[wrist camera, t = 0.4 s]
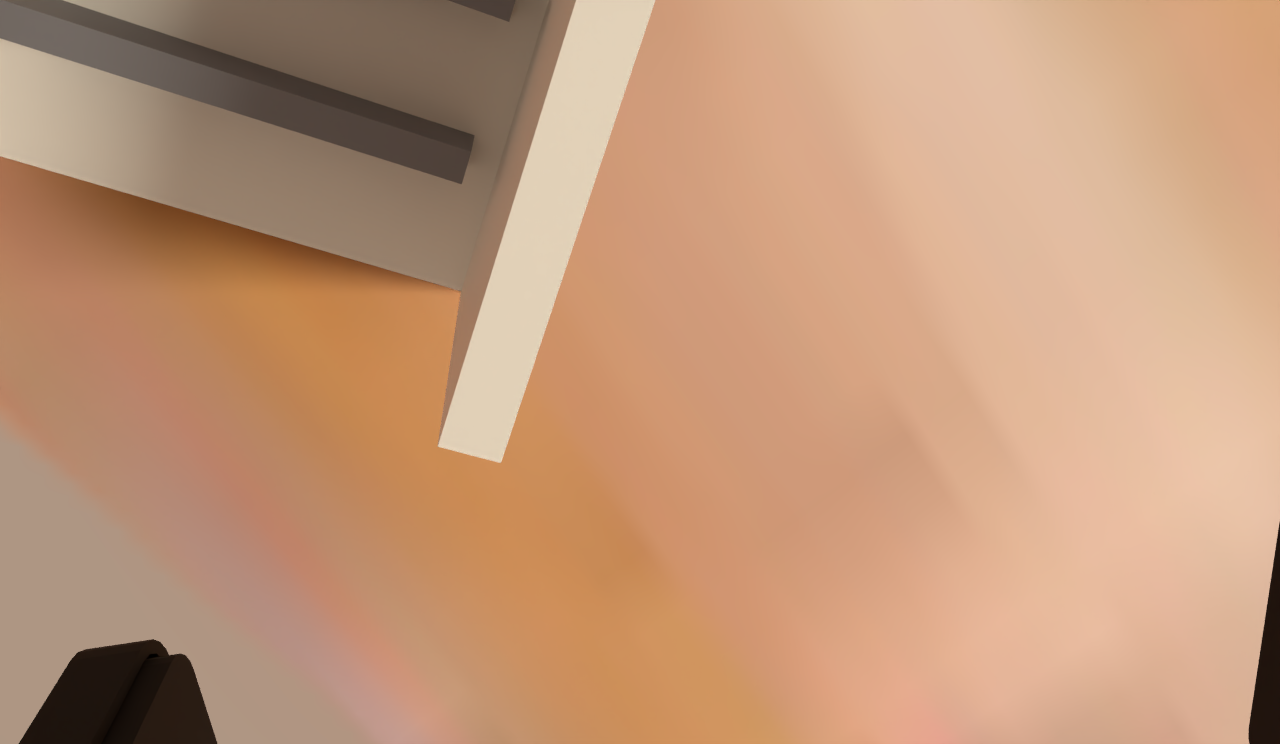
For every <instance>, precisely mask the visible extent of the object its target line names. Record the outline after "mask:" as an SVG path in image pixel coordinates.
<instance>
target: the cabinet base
mask: <svg viewBox="0 0 1280 744" xmlns="http://www.w3.org/2000/svg"><path fill="white" fill-rule="evenodd" d="M654 3H655V0H0V156H1V157H5V158H8V159H12V160H15V161H19V162H22V163H25V164H29V165H32V166H36V167H39V168H42V169H46V170H49V171H53V172H56V173H59V174H63V175H66V176H70V177H73V178H77V179H80V180H83V181H87V182H90V183H94V184H97V185H100V186H104V187H107V188H111V189H114V190H117V191H121V192H124V193H128V194H131V195H134V196H138V197H141V198H145V199H148V200H152V201H155V202H158V203H162V204H165V205H169V206H172V207H175V208H179V209H182V210H186V211H189V212H192V213H196V214H199V215H203V216H206V217H210V218H213V219H216V220H220V221H223V222H227V223H230V224H233V225H237V226H240V227H244V228H247V229H250V230H254V231H257V232H261V233H264V234H267V235H271V236H274V237H278V238H281V239H285V240H288V241H291V242H295V243H298V244H302V245H305V246H308V247H312V248H315V249H319V250H322V251H325V252H329V253H332V254H336V255H339V256H343V257H346V258H349V259H353V260H356V261H360V262H363V263H366V264H370V265H373V266H377V267H380V268H383V269H387V270H390V271H394V272H397V273H400V274H404V275H407V276H411V277H414V278H418V279H421V280H424V281H428V282H431V283H435V284H438V285H441V286H445V287H448V288H452V289H455V290H458V291H461V295H460V301H459V308H458V315H457V321H456V328H455V335H454V341H453V348H452V355H451V361H450V368H449V374H448V381H447V388H446V394H445V401H444V408H443V414H442V421H441V428H440V434H439V441H438V447H441V448H445V449H449V450H453V451H456V452H460V453H464V454H468V455H472V456H476V457H480V458H483V459H487V460H491V461H495V462H499V463H501V461H502V458H503V455H504V452H505V449H506V446H507V443H508V440H509V437H510V434H511V431H512V428H513V425H514V422H515V419H516V416H517V413H518V410H519V407H520V404H521V401H522V398H523V395H524V392H525V389H526V386H527V383H528V380H529V377H530V374H531V371H532V368H533V365H534V362H535V359H536V356H537V353H538V350H539V347H540V344H541V341H542V338H543V335H544V332H545V329H546V326H547V323H548V320H549V317H550V314H551V311H552V308H553V305H554V302H555V299H556V296H557V293H558V290H559V287H560V284H561V281H562V278H563V275H564V272H565V269H566V266H567V263H568V260H569V257H570V254H571V251H572V248H573V245H574V242H575V239H576V236H577V233H578V230H579V227H580V224H581V221H582V218H583V215H584V212H585V209H586V206H587V203H588V200H589V197H590V194H591V191H592V188H593V185H594V182H595V179H596V176H597V173H598V170H599V167H600V164H601V161H602V158H603V155H604V152H605V149H606V146H607V143H608V140H609V137H610V134H611V131H612V128H613V125H614V122H615V119H616V116H617V113H618V110H619V107H620V104H621V101H622V98H623V95H624V92H625V89H626V86H627V83H628V80H629V77H630V74H631V71H632V68H633V65H634V62H635V59H636V56H637V54H638V51H639V48H640V45H641V42H642V39H643V36H644V33H645V30H646V27H647V24H648V21H649V18H650V15H651V12H652V9H653V6H654Z"/></svg>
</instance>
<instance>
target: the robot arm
mask: <svg viewBox="0 0 1280 744" xmlns="http://www.w3.org/2000/svg"><path fill="white" fill-rule="evenodd" d="M1249 743H1250V744H1280V523H1279V530H1278V537H1277V543H1276V550H1275V557H1274V564H1273V570H1272V577H1271V584H1270V590H1269V597H1268V604H1267V610H1266V617H1265V624H1264V630H1263V637H1262V644H1261V650H1260V657H1259V664H1258V671H1257V677H1256V684H1255V691H1254V697H1253V704H1252V711H1251V717H1250V724H1249ZM19 744H217V741H216V738H215V735H214V732H213V729H212V725H211V722H210V719H209V716H208V713H207V710H206V707H205V704H204V701H203V697H202V694H201V691H200V688H199V685H198V682H197V678H196V675H195V672H194V669H193V667H192V665H191V662H190V660H189V659H188V658H187V657H186V656H185V655H183V654H175V655H169V654H168V652H167V650H166V648H165V647H164V646H163V645H162V644H161V642H159V641H156V640H154V639H153V640H146V641H140V642H133V643H127V644H120V645H113V646H106V647H99V648H92V649H86V650H83V651H80V652H78V653H77V654H76V655H75V656H74V657H73V658H72V660H71V661H70V662H69V664H68V666H67V668H66V669H65V670H64V672H63V674H62V675H61V677H60V678H59V680H58V682H57V683H56V685H55V686H54V688H53V690H52V691H51V693H50V694H49V696H48V698H47V699H46V701H45V703H44V704H43V706H42V707H41V709H40V710H39V712H38V714H37V715H36V717H35V719H34V720H33V722H32V723H31V725H30V727H29V728H28V730H27V731H26V733H25V735H24V736H23V738H22V739H21V741H20V743H19Z"/></svg>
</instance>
